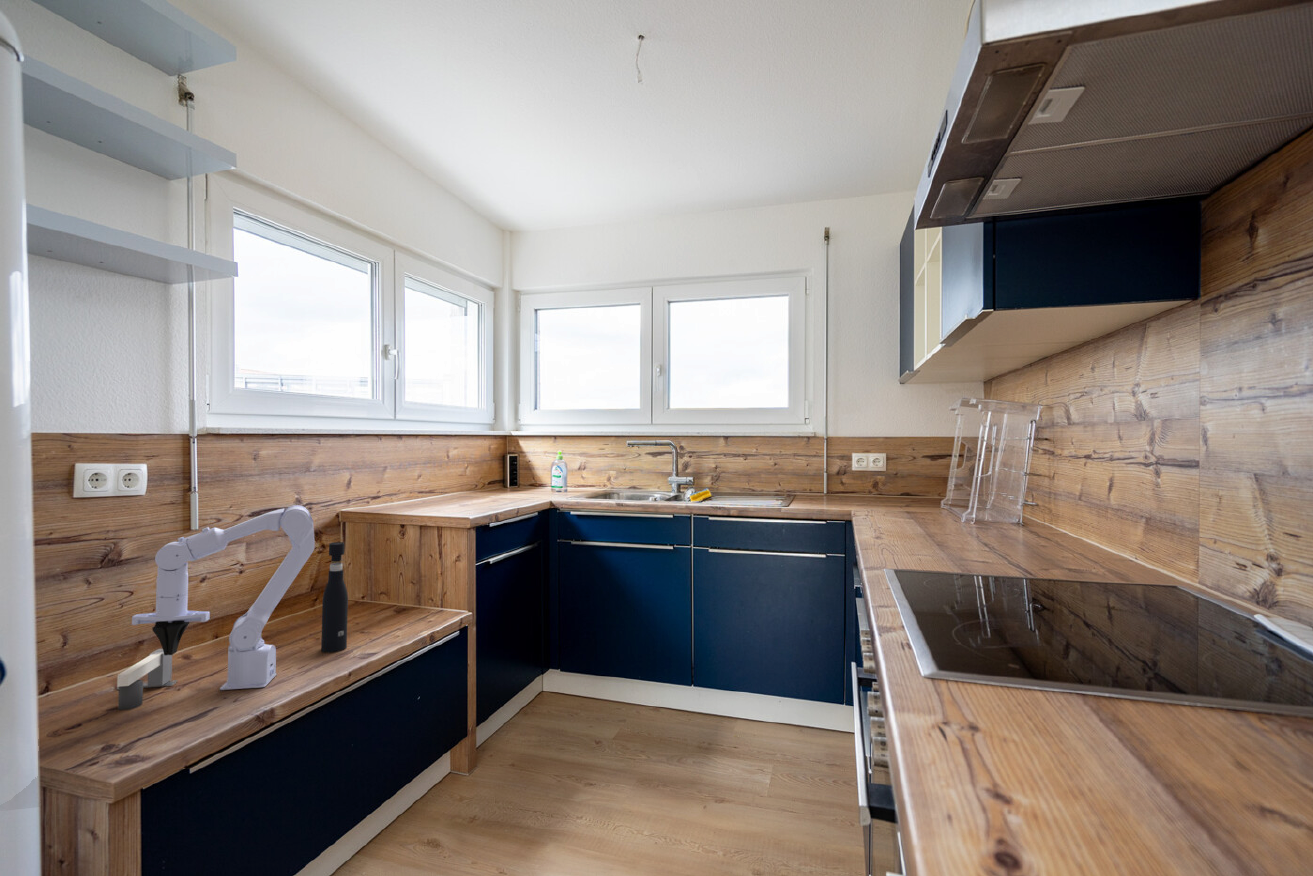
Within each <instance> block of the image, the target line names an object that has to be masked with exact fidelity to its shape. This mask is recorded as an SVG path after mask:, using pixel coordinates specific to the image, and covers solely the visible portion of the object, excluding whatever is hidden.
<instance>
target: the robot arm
mask: <svg viewBox="0 0 1313 876" xmlns="http://www.w3.org/2000/svg"><path fill="white" fill-rule="evenodd" d="M280 527H281V530H283V532H284V533H285V534H286V535H287V536H288V539H289V542H290V545H291V549H290V550H289V551H288V553H287V555H286V556H285V558H284V559H283V560H282V561H281V564H280V565H279V566H278V567H277V569H276V570H275V572H274V574H273V575H272V576H271V578H270V579H269V581H268V582H267V584H266V585H265V587H264V588H263V590H262V591H261V592H260V593H259V596H258V597H257V598H256V600H255V601H254V603H253V604H252V605H251V606H250V607H249V609H248V611H247V612H245V614H242V615H241V616H240V617H238V618H237V619H236V620H235V622H234V624H233V626H232V630H231V632H230V634H229V637H228V640H229V641H228V642H229V645H228V646H227V647H228V649H227V650H228V651H227V652H228V653H227V681H226V682H225V683H224V684H222V686H221V687H220V688H219V690H220V691H226V690H239V689H241V690H242V689H243V690H244V689H257V688H265V687H266V686H267V685H268V684H269V683H270V682H271V681H272V680H273V679H274V678H275V677H276V676H277V673H276V670H277V669H276V667H277V665H276V664H277V663H276V662H277V648H276V645H274V644H266V643H265V640H264V639H263V637H262V631H263V630H264V627H265V626H266V624H267V623H268V620H269V618H270V617H271V615H272V613H273V612H274V611H275V608H276V607H277V605H278V604H279V603H280V601H281V600H282V598H283V597H284V595H285V594H286V592H287V591H288V589H289V588H290V587H291V585H292V584H293V582H294V580H295V579H296V578H297V576H298V575H299V573H300V572H301V570H302V568H303V567H304V565H305V564H306V563H307V561H308V560H309V558H310V557H311V555H312V553H314V550H315V548H316V547H315V546H316V544H315V543H316V542H315V530H314V529H315V528H314V519H313V516H311V513H310V511H309V510H308V508H306V507H305V506H303V505H298V504H294V505H291V506H289V507H287V508H286V509H285V508H279V509H276V510H273V511H270V512H269V511H268V512H266V513H263V514H261V515H258V516H256V517H253V518H251V519H248V520H245V521H243V522H240V523H238V524H236V525H233V526H230V527H228V528H226V529H222V528H219V527H211V528H210V527H209V526H207V527H205V528H202V529H201V532H198V533H196V534H193V535H190V536H186V537H184V536H181V537H178V538H177V541H172V542H169V543H166V544H165V545H163V546H162V547H161V548H160V549H158V550H157V552H156V553H155V557H154V558H155V559H154V561H155V565H156V566H157V576H156V588H155V589H156V590H155V593H156V594H155V595H156V596H155V612H147V613H137V614H134V615H133V616H132V617H131V626H137V625H141V624H144V625H145V624H146V625H147V624H154V626H153V627H152V629H151V630H152V632H153V633H154V635H156V637H157V638H158V640H159V643H160V645H161V649H163V652H164V655H172V656H173V655H174V654H176V653H177V651H178V649H179V648H178V647H179V644H180V641H181V639H182V637H183V635H184V633H185V631H186V630H187V628H188V626H189V624H190V623H194V622H200V623H206V622H208V621H209V620H210V616H211V615H210V613H211V612H210V611H209V610H208V611H206V610H205V611H204V610H202V611H201V610H199V611H198V610H188V602H189V601H188V600H189V572H188V568H189V567H188V565H189V563H188V562H190V561H191V562H195V561H197V560H200V559H203V558H205V557H207V556H210V555H212V554H216V553H218V552H221V551H225V549H226V548H227V546H228V544H229V543H230V542H233V541H236V540H238V539H242V538H245V537H247V536H250V535H253V534H255V533H259V532H262V531H265V530H268V531H273V532H274V531H275V532H279V531H280Z"/></svg>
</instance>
